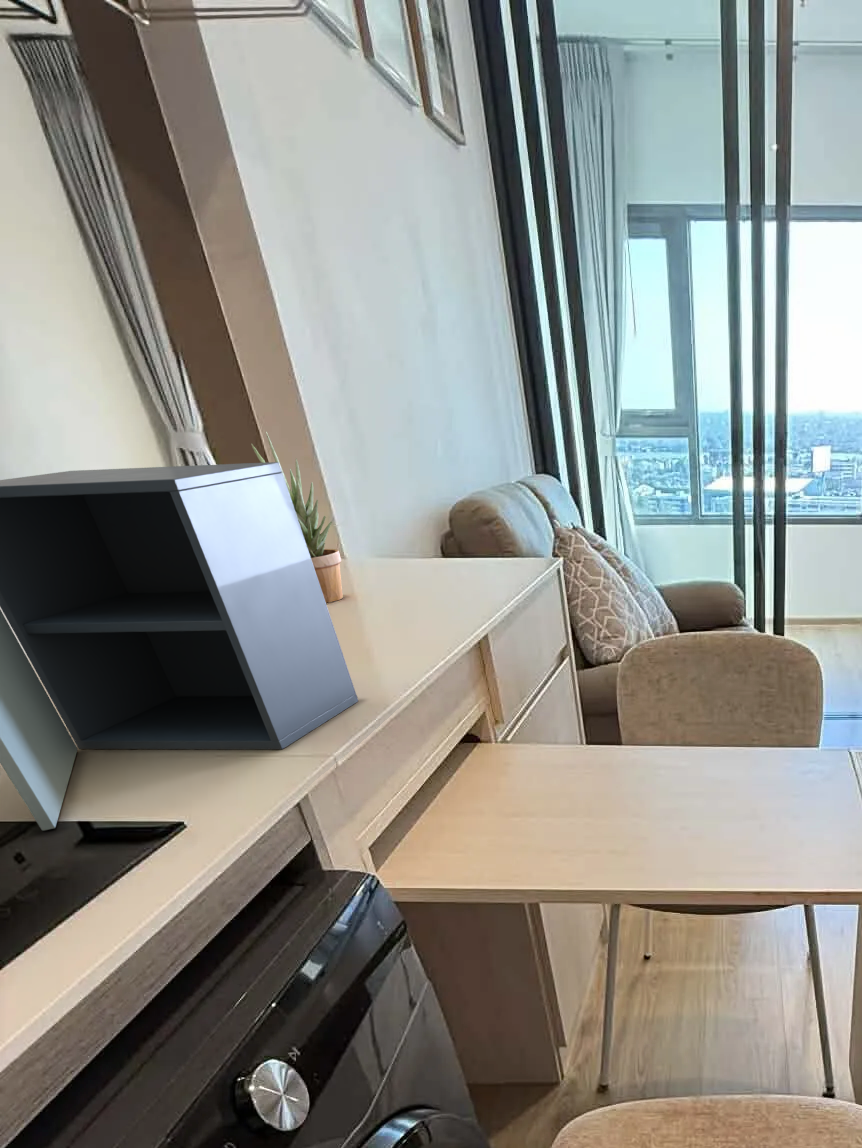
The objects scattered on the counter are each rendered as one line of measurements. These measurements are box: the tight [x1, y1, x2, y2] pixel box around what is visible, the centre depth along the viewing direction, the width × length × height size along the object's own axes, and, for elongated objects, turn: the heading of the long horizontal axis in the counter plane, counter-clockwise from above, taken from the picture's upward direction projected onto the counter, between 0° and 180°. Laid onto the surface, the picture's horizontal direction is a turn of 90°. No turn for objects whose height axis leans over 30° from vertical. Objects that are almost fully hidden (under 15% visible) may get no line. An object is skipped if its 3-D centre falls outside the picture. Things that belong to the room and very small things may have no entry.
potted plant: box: [251, 431, 344, 604], centre depth 142 cm, size 10×10×25 cm
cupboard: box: [0, 461, 359, 750], centre depth 88 cm, size 16×24×24 cm
